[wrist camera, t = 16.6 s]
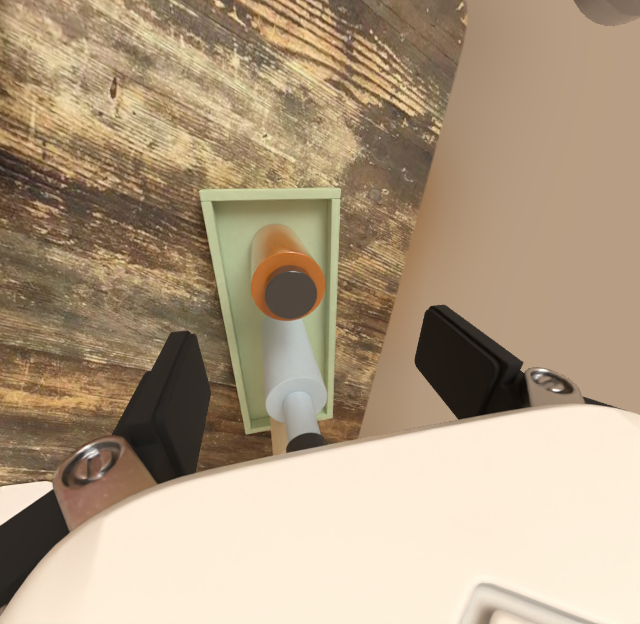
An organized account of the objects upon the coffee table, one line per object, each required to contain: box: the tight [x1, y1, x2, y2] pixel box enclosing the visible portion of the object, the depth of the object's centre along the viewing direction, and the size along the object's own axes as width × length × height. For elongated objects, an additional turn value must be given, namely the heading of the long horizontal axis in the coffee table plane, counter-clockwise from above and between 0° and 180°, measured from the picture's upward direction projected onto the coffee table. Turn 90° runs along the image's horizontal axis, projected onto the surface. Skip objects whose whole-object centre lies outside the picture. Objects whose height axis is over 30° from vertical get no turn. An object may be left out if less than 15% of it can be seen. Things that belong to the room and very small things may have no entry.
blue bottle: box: [261, 316, 327, 453], centre depth 23 cm, size 5×5×16 cm
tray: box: [199, 188, 341, 434], centre depth 29 cm, size 29×12×2 cm, turn 0°
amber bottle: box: [251, 224, 325, 321], centre depth 21 cm, size 5×5×11 cm
